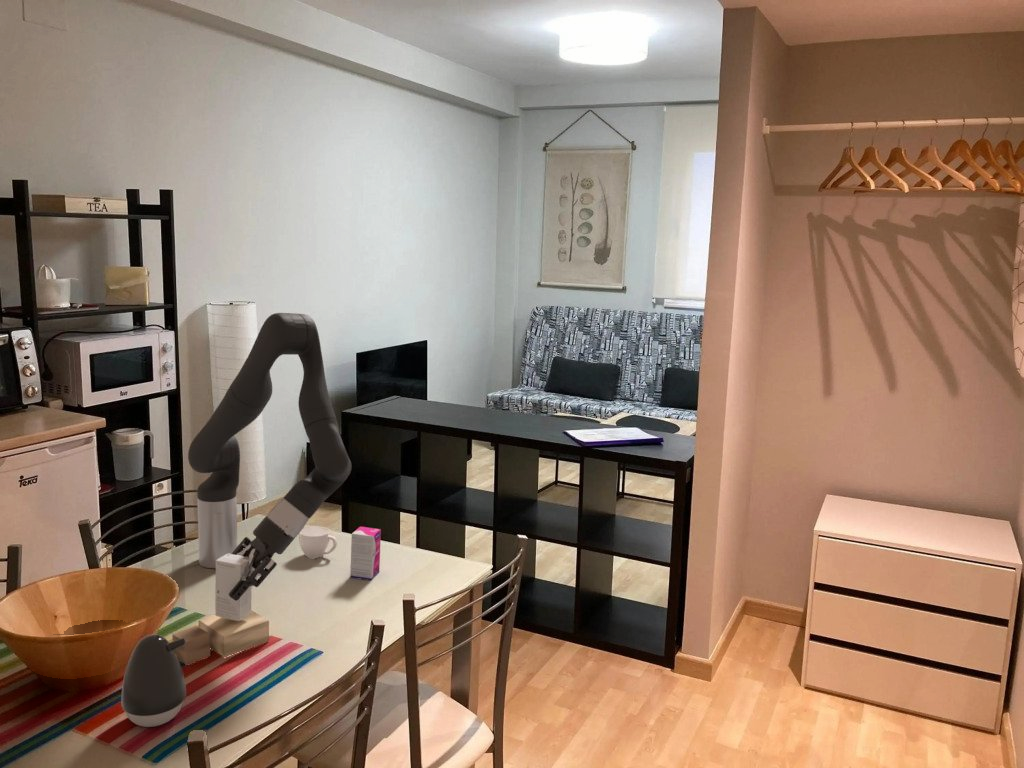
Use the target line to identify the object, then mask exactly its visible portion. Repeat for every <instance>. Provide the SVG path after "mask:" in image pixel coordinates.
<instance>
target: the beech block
mask: <svg viewBox="0 0 1024 768" xmlns="http://www.w3.org/2000/svg"><path fill="white" fill-rule="evenodd" d="M198 627H199V628H201V629H203V630H204V631H206V632H208V633H209V634H210V648H211V649H213V650H214V651H215V652H217V653H219V654H220V655H222V656H223V657H227V656H229V655H232V654H235V653H237V652H240V651H243V650H246V649H248V648H251V647H254V646H257V645H260V644H262V645H264V644H263V643H265V642H268V641H269V642H270V620H269V619H267V618H266V617H264V616H262V615H260V613H257V612H256V611H254V610H252V609H251V613H250V614H249V615H248V616H246V617H245V618H243V619H242V620H240V621H235V620H231V619H226V618H222V617H218V616H216V615H215V613H214V614H210V615H209V616H205V617H202V618H200V619H198ZM269 642H268V643H269ZM265 644H266V643H265ZM260 646H261V645H260ZM257 647H258V646H257ZM254 648H255V647H254ZM211 649H210V650H211ZM213 650H212V651H213ZM214 651H213V652H214ZM246 651H247V650H246ZM215 652H214V653H215ZM217 653H216V654H217ZM220 655H219V656H220ZM223 657H222V658H223Z"/></svg>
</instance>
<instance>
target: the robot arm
mask: <svg viewBox="0 0 1024 768" xmlns="http://www.w3.org/2000/svg"><path fill="white" fill-rule="evenodd" d="M321 347H322V346H321V341H320V336H319V331H318V327H317V325H316V323H315V320H314V319H313V318H312V317H311V316H309V315H308V314H305V313H297V312H296V313H295V312H294V313H291V312H276V313H273V314H270V315H269V316H268V317H267V318H266V320H265V321H264V322H263V324H262V326H261V327H260V330H259V332H258V335H257V336H256V338H255V341H254V343H253V345H252V348H251V349H250V352H249V354H248V356H247V358H246V360H245V361H244V363H243V365H242V367H241V368H240V370H239V372H238V373H237V375H236V376H235V378H234V379H233V380H232V382H231V384H230V386H229V387H228V389H226V392H225V394H224V395H223V398H222V400H220V402H219V404H218V406H217V407H216V409H215V410H214V412H213V413H212V414H211V416H210V418H209V419H208V421H207V422H206V424H204V426H203V427H202V428H201V430H200V431H199V432H198V433H197V435H196V436H195V437H194V438H193V440H192V441H191V443H190V446H189V448H188V453H187V459H188V464H189V466H190V467H191V468H192V470H193V471H195V472H197V473H199V474H200V473H201V474H210V473H211V474H210V475H209V477H208V478H207V479H205V480H204V481H203V482H201V483H200V484H199V485H198V487H197V490H196V491H197V493H196V494H197V495H196V496H197V497H196V498H197V499H196V500H197V525H198V526H197V527H198V563H199V565H200V566H201V567H203V568H207V569H216V560H217V559H219V558H221V557H222V556H224V555H226V554H228V553H229V554H233V555H240V556H244V557H248V558H249V559H248V563H247V564H246V566H245V573H244V575H243V577H242V580H240V581H239V582H238V583H237V584H236V585H235V587H234V588H233V589H232V590H231V591H230V593H229V596H230V597H231V598H232V599H234V600H235V601H237V600H239V598H240V597H241V596H242V595H243V594H244V592H245V591H246V590H247V589H248V588H249V587H250V586H251V587H252V588H253V587H255V588H258V587H259V586H260V585H261V584H262V583H263V582H264V580H265V579H266V578H267V577H268V576H269V575H270V573H271V572H272V571H273V570H274V569H275V568H276V567H277V565H278V564H277V562H276V561H275V560H273V559H272V558H273V556H274V555H275V554H277V555H282V554H284V552H285V551H286V550H287V548H288V547H289V546H290V544H292V542H293V541H294V540H295V539H296V537H298V535H299V533H300V532H301V530H302V529H303V528H305V526H306V524H307V523H308V521H309V519H311V518H312V516H314V514H315V513H316V512H317V511H318V509H319V508H320V507H321V506H322V504H323V503H324V502H325V500H327V499H328V498H329V497H331V496H332V494H333V493H335V492H336V491H337V490H338V489H339V488H340V487H341V486H342V485H343V484H344V483H345V481H346V480H347V479H348V477H349V476H350V474H351V471H352V461H351V459H350V457H349V454H348V452H347V449H346V446H345V445H344V442H343V441H344V440H343V439H342V437H341V436H342V435H341V433H340V428H339V423H338V420H337V417H336V413H335V411H334V407H333V404H332V401H331V397H330V394H329V390H328V385H327V380H326V379H327V378H326V374H325V373H326V372H325V368H324V367H325V366H324V359H323V353H322V348H321ZM283 355H287V356H288V355H289V356H290V355H291V356H292V355H298V358H299V359H300V362H301V365H302V369H303V370H302V371H303V378H302V384H301V388H300V390H299V396H298V411H299V414H300V415H299V416H300V418H301V422H302V425H303V428H304V430H305V434H306V436H307V438H308V441H309V446H310V450H311V455H312V460H313V462H314V466H315V468H313V470H312V471H311V472H310V473H309V474H308V475H307V476H306V477H305V478H304V479H300V480H298V481H297V482H296V483H295V484H293V486H292V487H291V488H290V489H289V491H288V492H286V494H285V495H284V497H283V498H282V499H280V500H279V502H278V503H277V504H275V505H274V506H273V507H272V509H271V510H270V511H269V512H268V513H267V515H265V517H264V518H263V519H262V520H261V521H260V522H259V523H258V525H257V526H256V527H255V528H254V530H253V531H252V534H253V535H254V537H255V538H254V539H252V540H251V539H250V538H249V537H248V536H245V537H244V538H243V539H242V540H241V541H240V542H239V544H238V509H237V503H238V501H237V492H238V491H237V489H238V487H239V484H240V468H241V466H240V465H241V450H240V445H239V441H238V439H237V437H236V435H237V434H238V433H240V432H241V431H242V430H244V429H245V428H246V427H248V426H249V425H251V424H252V422H254V421H255V420H256V419H257V418H258V417H259V416H260V415H261V414H262V412H263V411H264V409H265V407H266V406H267V404H268V403H269V401H270V400H271V397H272V395H273V382H272V378H271V373H270V372H271V370H272V367H273V365H274V364H275V362H276V361H277V359H278V358H280V357H281V356H283ZM250 574H251V575H250ZM249 575H250V576H249ZM258 577H259V578H258Z"/></svg>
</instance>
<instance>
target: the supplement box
mask: <svg viewBox="0 0 1024 768" xmlns="http://www.w3.org/2000/svg"><path fill="white" fill-rule="evenodd" d="M381 535H382V530H381V528H374V527H366V526H359V527H358V528H357V529H356V530H355V531H353V532H352V533H351V539H350V540H351V545H350V573H349V574H350V575H349V578H350V577H351V578H350V579H356V578H361V579H360V580H364V579H368V580H367V581H372V580H373V579H374V578H375V576H377V575H378V574H379V573H380V565H381V563H380V562H381V559H380V558H381V541H382V539H381Z"/></svg>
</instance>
